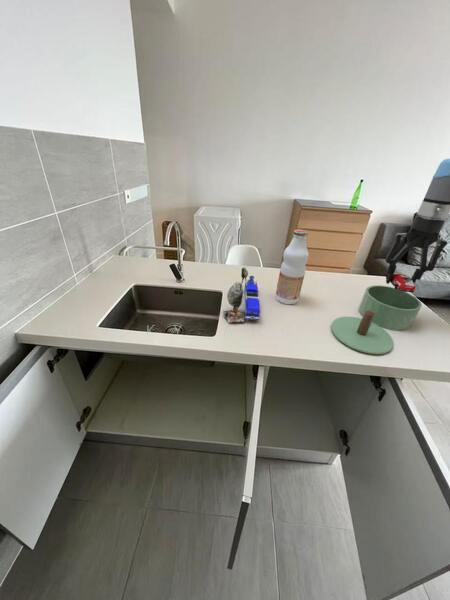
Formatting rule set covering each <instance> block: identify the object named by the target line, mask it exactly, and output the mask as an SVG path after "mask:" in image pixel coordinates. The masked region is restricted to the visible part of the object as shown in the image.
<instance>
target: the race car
mask: <svg viewBox="0 0 450 600" xmlns="http://www.w3.org/2000/svg"><path fill="white" fill-rule="evenodd" d="M388 275H389V274H387V273H386V276H385V280H386V279H387V277H388ZM411 278H412V277H410V276H409V275H407V274H403V273H399V272H394V274H393V276H392V278H391V280H390V283H391V285H392V286H393V287H394V288H395V289H397V290H400V291H403V292H407V293H410V294H411V293H412V294H413V293H414V292H415V290H416V284H415V283H413V281H412V280H411Z"/></svg>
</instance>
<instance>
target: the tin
mask: <svg viewBox="0 0 450 600" xmlns="http://www.w3.org/2000/svg"><path fill="white" fill-rule="evenodd" d="M422 305H423V304H422V302H421V300H420V299H419V298H417V297H416V296H414V295H413V294H411V293H410V292H403V291H400V290H397V289H395V287H394V286H393V287H392V286H388V285H381V284H380V285H376V284H375V285H371V286H368V287H367V288H366V289H365V292H364V294H363V296H362V299H361V301H360V303H359V306H358V313H359V314H360V315H361V317H363V315H364V313H365V311H371V312H373V313H375V317H374V319H373V321H372V323H374V324H376V325H378V326H380V327H381V328H383V329H387V330H393V331H405V330H407V329H409V328H410V327H411V326H412V324H413V322H414V320H415V318H417V315H418V313H419V312H420V310H421V309H422Z"/></svg>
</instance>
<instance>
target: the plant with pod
mask: <svg viewBox="0 0 450 600" xmlns="http://www.w3.org/2000/svg"><path fill="white" fill-rule="evenodd" d="M240 275H241V281H238V282H237V281H236V282H234V283H233V284H232V285H231V286H230V287H229V289H228V291H227V293H226V299H227V302H228V304H229V305H230V306H231V307H232V309H229V310H224V311H222V315H223V317H224V318H225V319H226V320H227V322H228V324H231V323H243V324H244V323H245V322H246V319H245V313H244V312H242V311H241V310H240V309H239V308H240V307H241V305H242V303H243V298H244V297H243V296H244V289H243V288H244V287H243V283H244V282H245V281H246V282H247V281H248V280H247V278H248V277H249V272H248V269H247V268H246V267H242V268H241V273H240Z"/></svg>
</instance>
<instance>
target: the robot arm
mask: <svg viewBox="0 0 450 600" xmlns="http://www.w3.org/2000/svg"><path fill="white" fill-rule="evenodd" d="M416 214H417V215H416V216H414V218H413V222H412V223H411V226H410V228H409V229H408V230H407V231H406V232H403V233H401V232H396V233H395V238H394V239H395V240H394V242H393V243H392V245H391V247H390V249H389V251H388V253H387V255H386V257H385V259H384V260H385V263H386V264H388V266H387V269H386V275H387V274H389V275H388V277H387V279H386V278H385V284H387V285H389V284H390V283H391V282H390V280H391V278H392V276H393V274H394V272H395V271H396V270H397V263H398V262H399V261H401V259H402V258H403V257H404V256H405V255H406V253H408V251H409V250H411V249H412V248H419V249H420V261H419V268H415V270H414V272H413V275H412V276H411V277H410V278H411V280H412V281H413V283H414V284H415V283H416V281H420V280H421V279H422V277H423V275H424V273H426V272H433V271H434V269H435V266H436V265H437V262H438V260H439V257H440V255H441V253H442V251H443V249H445V247H446V246H447V245H448V241H446V239H442V238H440V237H439V235H440V233H441V231H442V229H443V227H444V225H445V223H446V219H448V217H449V215H450V158H445V159H443V160H442V161H440V163H439V165H438V166H437V169H436V171H435V172H434V174H433V175H432V178H431V181H430V183H429V186H428V188H427V190H426V193H425V195H424V198H423V200H422V201H421V204H420V206H419V208H418V210H417V212H416ZM404 238H406V240H407V242H406V243H405V244H404V245H403V247H402V248H401V249H400V250H399V251H398V252H397V249H398V248H399V246H400V243H401V241H403V240H404ZM434 243H435V247H434V249H433V252H432V254H431V256H430V258H429V261H428V252H429V247H430V246H431V245H432V244H434ZM396 252H397V254H395V253H396ZM394 255H395V256H394Z"/></svg>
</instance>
